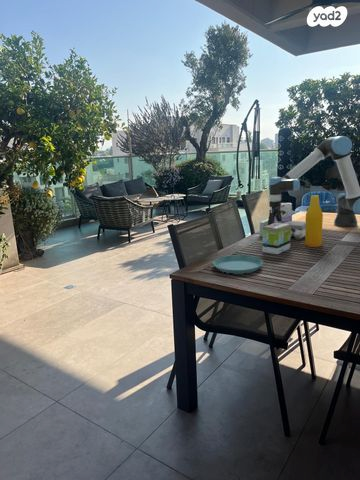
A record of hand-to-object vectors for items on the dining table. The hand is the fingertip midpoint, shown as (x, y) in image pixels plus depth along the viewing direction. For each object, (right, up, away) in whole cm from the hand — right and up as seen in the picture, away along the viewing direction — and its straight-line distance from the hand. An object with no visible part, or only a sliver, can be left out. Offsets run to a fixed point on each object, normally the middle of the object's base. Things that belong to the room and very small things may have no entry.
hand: (274, 232), depth 235 cm
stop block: (-5, -1, +4) cm, 6 cm away
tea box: (-9, -11, -37) cm, 40 cm away
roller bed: (+11, -3, -8) cm, 14 cm away
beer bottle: (+14, -8, -31) cm, 35 cm away
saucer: (-36, -19, -63) cm, 75 cm away
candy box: (+14, +6, +30) cm, 34 cm away
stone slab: (+11, +4, -9) cm, 15 cm away
